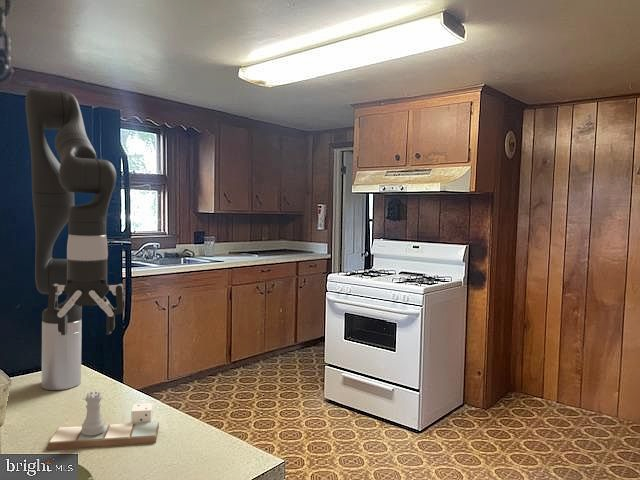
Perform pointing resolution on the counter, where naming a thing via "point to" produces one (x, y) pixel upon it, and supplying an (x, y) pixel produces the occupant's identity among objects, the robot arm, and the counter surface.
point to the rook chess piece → (93, 416)
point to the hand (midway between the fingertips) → (86, 333)
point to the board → (105, 436)
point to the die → (142, 413)
